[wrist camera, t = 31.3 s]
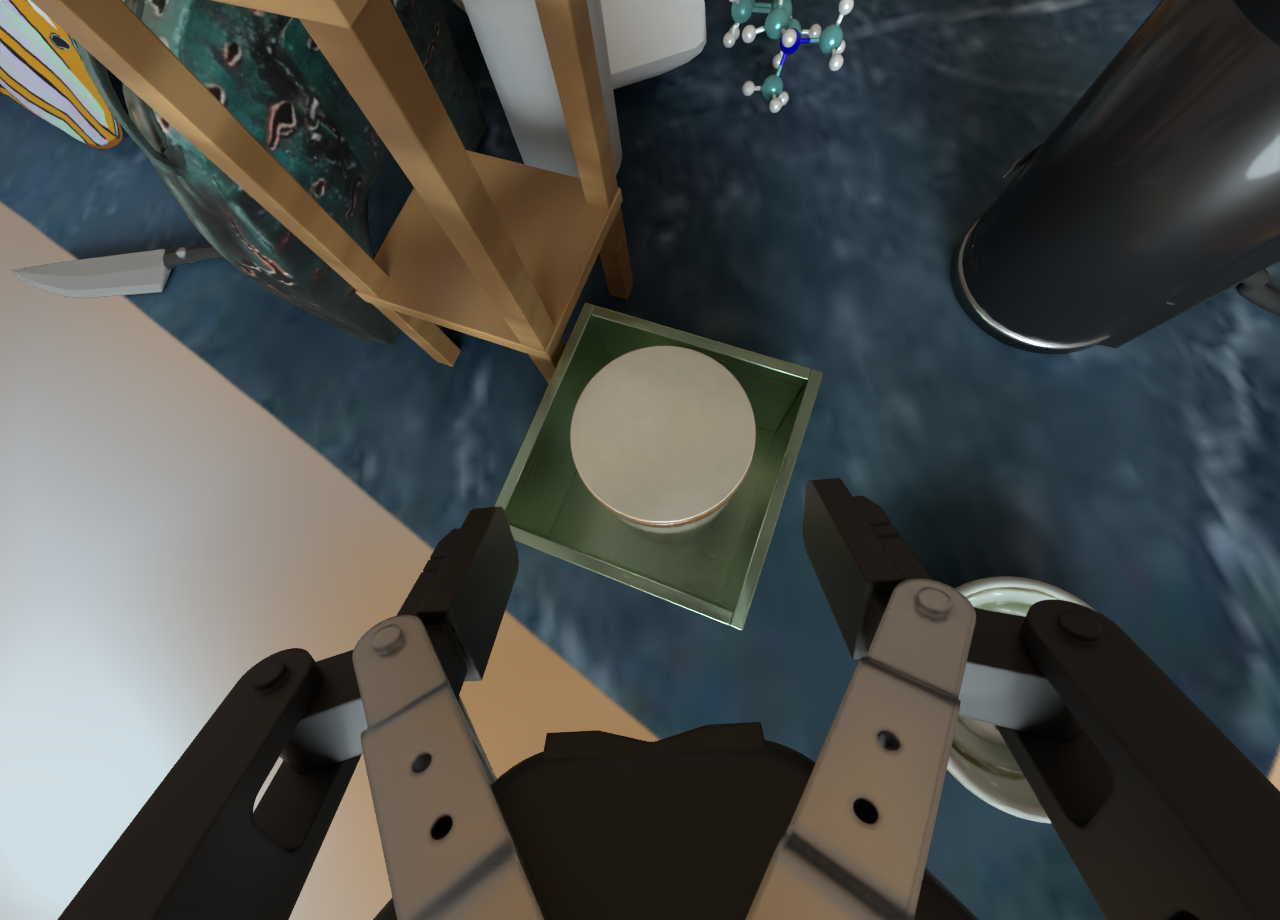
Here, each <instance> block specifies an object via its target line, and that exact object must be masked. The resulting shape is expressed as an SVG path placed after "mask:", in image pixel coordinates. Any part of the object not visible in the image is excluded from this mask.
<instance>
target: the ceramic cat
mask: <svg viewBox="0 0 1280 920" xmlns="http://www.w3.org/2000/svg"><path fill="white" fill-rule="evenodd" d="M390 1H391V3H392V5H393V7H394V9H395V11H396V13H397V15H398V17H399V19H400V21H401V23H402V25H403V27H404V29H405V31H406V33H407V35H408V37H409V39H410V41H411V43H412V45H413V47H414V49H415V51H416V53H417V55H418V57H419V59H420V61H421V63H422V65H423V67H424V69H425V71H426V73H427V75H428V77H429V79H430V81H431V83H432V85H433V87H434V89H435V91H436V93H437V94H438V96H439V98H440V100H441V102H442V104H443V106H444V108H445V110H446V112H447V114H448V116H449V118H450V120H451V122H452V124H453V126H454V128H455V130H456V132H457V134H458V136H459V138H460V140H461V142H462V144H463V146H464V148H465V150H468V151H472V152H477V147H478V145H479V142H480V140H481V138H482V137H483V135H484V133H485V131H486V129H487V126H486V122H485V119H484V116H483V114H482V111H481V108H480V106H479V103H478V100H477V97H476V95H475V92H474V90H473V88H472V85H471V83H470V81H469V79H468V76H467V74H466V72H465V69H464V67H463V66H462V64H461V62H460V59H459V56H458V54H457V51H456V48H455V45H454V42H453V39H452V35H451V33H450V30H449V27H448V25H447V22H446V19H445V17H444V15H443V13H442V11H441V9H440V7H439V5H438V3H437V1H436V0H390ZM124 3H125V4H126V5H127V6H128V7H129V8H130V9H131V10H132V11H133V12H134V13H135V14H136V15H137V16H138V17H139V18H140V19H141V20H142V21H143V22H144V23H145V25H146V26H147V27H148V28H149V29H150V30H151V31H152V32H153V33H154V34H155V35H156V36H157V37H158V38H159V39H160V40H161V41H162V42H163V43H164V44H165V45H166V46H167V47H168V48H169V49H170V50H171V51H172V52H173V53H174V54H175V56H176V57H177V58H178V59H179V60H180V61H181V62H182V63H183V64H184V65H185V66H186V67H187V68H188V69H189V70H190V71H191V72H192V73H193V74H194V75H195V76H196V77H197V78H198V79H199V80H200V81H201V82H202V83H203V84H204V85H205V87H206V88H207V89H208V90H209V91H210V92H211V93H212V94H213V95H214V96H215V97H216V98H217V99H218V100H219V101H220V102H221V103H222V104H223V105H224V106H225V107H226V108H227V109H228V110H229V111H230V112H231V113H232V114H233V115H234V117H235V118H236V119H237V120H238V121H239V122H240V123H241V124H242V125H243V126H244V127H245V128H246V129H247V130H248V131H249V132H250V133H251V134H252V135H253V136H254V137H255V138H256V139H257V140H258V141H259V142H260V143H261V144H262V145H263V146H264V148H265V149H266V150H267V151H268V152H269V153H270V154H271V155H272V156H273V157H274V158H275V159H276V160H277V161H278V162H279V163H280V164H281V165H282V166H283V167H284V168H285V169H286V170H287V171H288V172H289V173H290V174H291V175H292V176H293V177H294V179H295V180H296V181H297V182H298V183H299V184H300V185H301V186H302V187H303V188H304V189H305V190H306V191H307V192H308V193H309V194H310V195H311V196H312V197H313V198H314V199H315V200H316V201H317V202H318V203H319V204H320V205H321V206H322V207H323V208H324V210H325V211H326V212H327V213H328V214H329V215H330V216H331V217H332V218H333V219H334V220H335V221H336V222H337V223H338V224H339V225H340V226H341V227H342V228H343V229H344V230H345V231H346V232H347V233H348V234H349V235H350V236H351V237H352V238H353V239H354V241H355V242H356V243H357V244H358V245H359V246H360V247H361V248H362V249H363V250H364V251H365V252H366V253H367V254H368V255H369V256H370V257H371V258H372V259H374V258H375V256H374V252H373V247H372V243H371V238H370V233H369V224H368V196H369V192H370V189H371V187H372V185H373V183H374V182H375V180H376V179H377V177H378V176H379V174H380V173H381V171H382V169H383V166H384V164H385V162H386V160H387V158H388V157H389V156H390V154H391V153H390V151H389V150H388V148H387V147H386V145H385V144H384V142H383V141H382V139H381V138H380V137H379V135H378V134H377V132H376V131H375V129H374V128H373V126H372V125H371V123H370V122H369V120H368V119H367V118H366V116H365V115H364V113H363V112H362V110H361V109H360V107H359V106H358V104H357V103H356V101H355V100H354V99H353V97H352V96H351V94H350V93H349V91H348V90H347V88H346V87H345V85H344V84H343V82H342V81H341V80H340V78H339V77H338V75H337V74H336V72H335V71H334V69H333V68H332V66H331V65H330V63H329V62H328V61H327V59H326V58H325V56H324V55H323V53H322V52H321V50H320V49H319V47H318V46H317V44H316V43H315V42H314V40H313V39H312V37H311V36H310V34H309V33H308V31H307V30H306V28H305V27H304V25H303V24H302V23H301V21H300V20H299V19H298V18H294V17H289V16H284V15H279V14H274V13H270V12H265V11H260V10H255V9H250V8H245V7H241V6H236V5H231V4H226V3H221V2H217V1H212V0H124ZM75 41H76V40H75ZM76 44H77V46H78V49H79V52H80V55H81V58H82V61H83V64H84V67H85V69H86V71H87V73H88V75H89V76H90V78H91V80H92V82H93V83H94V85H95V87H96V89H97V90H98V92H99V94H100V95H101V97H102V99H103V101H104V102H105V104H106V105H107V107H108V108H109V109H110V111H111V112H112V113H113V115H114V116H115V118H116V119H117V120H118V122H119V123H120V124H121V126H122V127H123V128H124V130H125V131H126V132H127V133H128V134H129V136H130V137H131V138H132V139H133V140H134V141H135V143H136V144H137V145H138V146H139V147H140V149H141V150H142V151H143V152H144V153H145V154H146V156H147V157H148V158H149V160H150V161H151V163H152V165H153V166H154V168H155V169H156V170H157V172H158V174H159V176H160V178H161V180H162V181H163V182H164V184H165V185H166V186H167V188H168V189H169V190H170V192H171V193H172V194H173V196H174V197H175V198H176V199H177V201H178V202H179V203H180V205H181V206H182V207H183V209H184V211H185V212H186V214H187V216H188V217H189V219H190V221H191V222H192V224H193V226H194V227H195V228H196V229H197V230H198V231H199V232H200V233H201V234H202V235H203V236H204V237H205V238H206V240H207V241H208V242H209V243H210V244H211V245H212V246H213V247H214V248H215V249H216V250H217V251H218V252H219V253H220V254H221V255H222V256H223V257H224V258H225V259H226V260H228V261H229V262H230V263H231V264H233V265H234V266H235V267H236V268H237V269H239V270H240V271H241V272H242V273H244V274H245V275H247V276H248V277H250V278H251V279H253V280H255V281H256V282H257V283H258V284H260V285H261V286H262V287H264V288H265V289H266V290H268V291H269V292H271V293H273V294H274V295H276V296H278V297H280V298H281V299H283V300H285V301H287V302H289V303H291V304H293V305H296V306H298V307H300V308H302V309H303V310H305V311H307V312H309V313H311V314H313V315H315V316H316V317H318V318H320V319H322V320H324V321H326V322H328V323H330V324H332V325H334V326H336V327H338V328H339V329H341V330H343V331H345V332H346V333H348V334H350V335H352V336H353V337H355V338H358V339H362V340H366V341H372V342H377V343H380V344H383V345H386V346H391V345H392V344H393V342H394V340H395V339H396V337H397V335H398V334H399V332H400V330H401V329H400V328H399V327H398V326H396V325H395V324H394V323H393V322H392V321H391V320H390V319H389V318H387V317H386V316H385V315H384V314H383V313H382V312H381V311H380V310H378V309H377V308H376V307H375V306H374V305H373V304H372V303H369V302H366V301H364V300H363V299H362V298H361V297H360V296H359V295H357V294H356V289H355V288H354V287H353V286H351V285H350V284H349V283H348V282H347V281H346V280H345V279H344V278H342V277H341V276H340V275H339V274H338V273H337V272H336V271H335V270H333V269H332V268H331V267H330V266H329V265H328V264H327V263H326V262H324V261H323V260H322V259H321V258H320V257H319V256H318V255H317V254H315V253H314V252H313V251H312V250H311V249H310V248H309V247H308V246H306V245H305V244H304V243H303V242H302V241H301V240H300V239H299V238H297V237H296V236H295V235H294V234H293V233H292V232H291V231H290V230H288V229H287V228H286V227H285V226H284V225H283V224H282V223H281V222H279V221H278V220H277V219H276V218H275V217H274V216H273V215H272V214H270V213H269V212H268V211H267V210H266V209H265V208H264V207H263V206H261V205H260V204H259V203H258V202H257V201H256V200H255V199H254V198H252V197H251V196H250V195H249V194H248V193H247V192H246V191H245V190H243V189H242V188H241V187H240V186H239V185H238V184H237V183H236V182H234V181H233V180H232V179H231V178H230V177H229V176H228V175H226V174H225V173H224V172H223V171H222V170H221V169H220V168H219V167H217V166H216V165H215V164H214V163H213V162H212V161H211V160H210V159H208V158H207V157H206V156H205V155H204V154H203V153H202V152H201V151H199V150H198V149H197V148H196V147H195V146H194V145H193V144H192V143H190V142H189V141H188V140H187V139H186V138H185V137H184V136H183V135H181V134H180V133H179V132H178V131H177V130H176V129H175V128H174V127H172V126H171V125H170V124H169V123H168V122H167V121H166V120H165V119H163V118H162V117H161V116H160V115H159V114H158V113H157V112H156V111H154V110H153V109H152V108H151V107H150V106H149V105H148V104H147V103H145V102H144V101H143V100H142V99H141V98H140V97H139V96H138V95H136V94H135V93H134V92H133V91H132V90H131V89H130V88H129V87H127V86H126V85H125V84H124V83H123V82H122V84H123V94H124V98H125V101H126V105H127V109H128V112H129V115H130V117H131V119H130V117H129V116H128V115H127V113H126V112H125V111H124V109H123V107H122V105H121V103H120V101H119V99H118V97H117V95H116V93H115V91H114V89H113V87H112V85H111V82H110V79H109V76H108V73H107V70H106V67H105V66H104V65H103V64H102V63H100V62H99V61H98V60H97V59H96V58H95V57H94V56H93V55H91V54H90V53H89V52H88V51H87V50H86V49H85V48H84V47H82V46H81V45H80V44H79V43H78V42H77V41H76Z"/></svg>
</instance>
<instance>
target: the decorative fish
mask: <svg viewBox="0 0 1280 920" xmlns="http://www.w3.org/2000/svg"><path fill="white" fill-rule="evenodd" d="M0 93H2V94H6V95H8V96H10V97H11V98H13V99H14V100H15V101H17V102H18V103H20V104H21V105H22V106H24V107H25V108H26V109H28V110H29V111H31V112H32V113H34V114H36V115H37V116H39V117H41V118H42V119H44V120H46V121H47V122H49V123H51V124H53V125H54V126H56V127H58V128H60V129H62V130H63V131H65V132H66V133H68V134H69V135H71V136H72V137H74V138H75V139H77V140H79V141H81V142H83V143H85V144H87V145H89V146H91V147H93V148H98V149H108V148H111V147H114V146H115V145H117V144H118V143H119V142H120V141H121V140H122V137H123V135H122V129H121V126H120V123H119V122H118V120H117V119H116V118H115V116H114V115H113V113H112V112H111V111H110V109H109V108H108V107H107V105H106V104H105V102H104V101H103V99H102V97H101V95H100V94H99V92H98V90H97V89H96V87H95V85H94V83H93V82H92V80H91V78H90V76H89V75H88V73H87V71H86V69H85V67H84V64H83V61H82V58H81V55H80V52H79V49H78V46H77V44H76V41H75V39H73V38H72V37H71V36H70V35H69V34H68V33H67V32H66V31H64V30H63V29H62V28H61V27H60V26H59V25H58V24H57V23H55V22H54V21H53V20H52V19H51V18H50V17H49V16H47V15H46V14H45V13H44V12H43V11H42V10H41V9H40V8H38V7H37V6H36V5H35V4H34V3H33V2H32V1H31V0H0Z"/></svg>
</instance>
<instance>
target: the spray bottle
mask: <svg viewBox="0 0 1280 920" xmlns="http://www.w3.org/2000/svg"><path fill="white" fill-rule="evenodd" d="M600 1H601V8H602V15H603V22H604V29H605V36H606V43H607V50H608V57H609V64H610V71H611V78H612V85H613V89H617V88H620V87H623V86H626V85H630V84H633V83H636V82H639V81H642V80H646V79H649V78H652V77H655V76H659V75H661V74H664V73H666V72H668V71H670V70H672V69H675V68H677V67H679V66H681V65H683V64H685V63H688V62H689V61H691V60H692V59H693V58H694V57H696V56H697V55H698V54H699V53H701V52H702V50H703V48H704V46H705V44H706V42H707V38H706V17H705V2H704V0H600Z"/></svg>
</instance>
